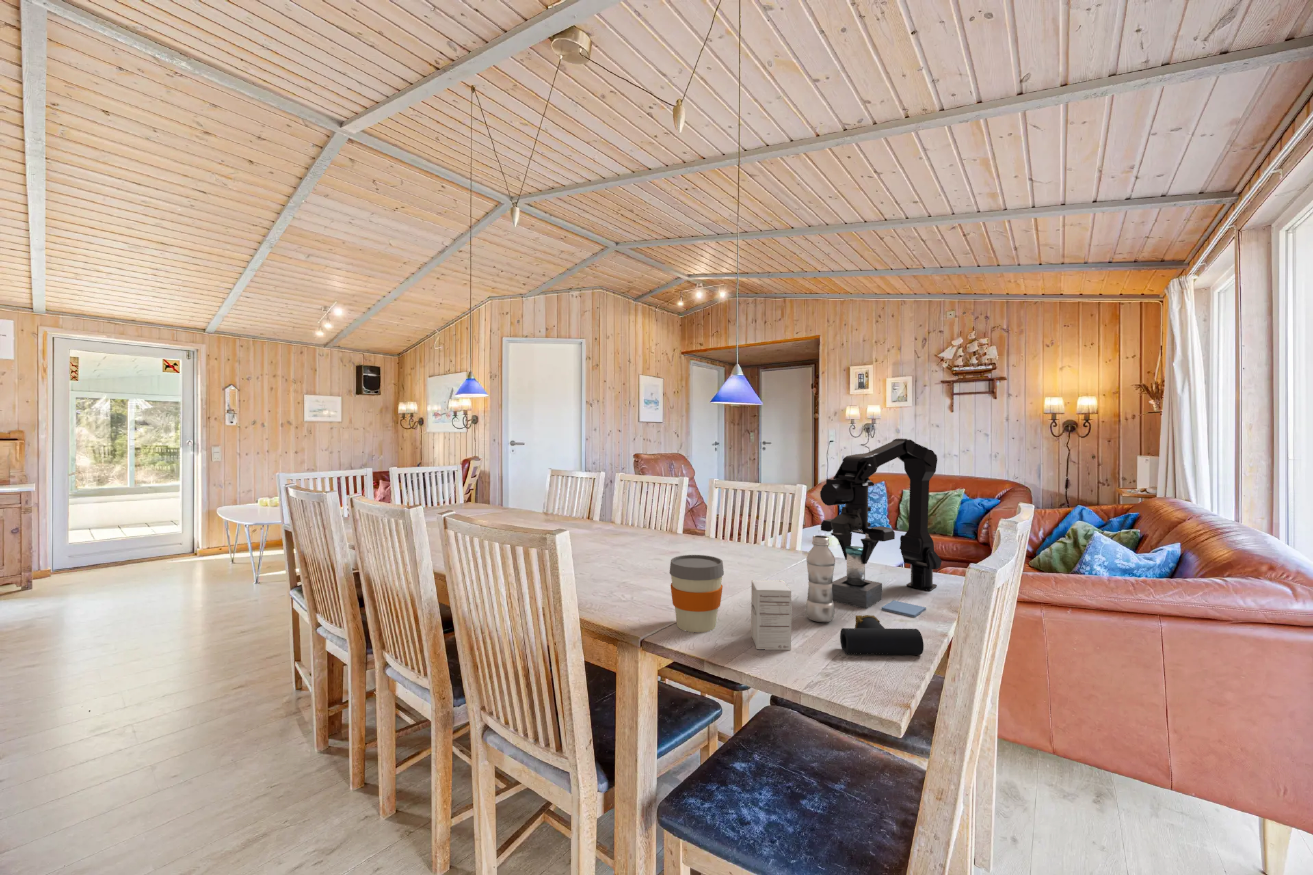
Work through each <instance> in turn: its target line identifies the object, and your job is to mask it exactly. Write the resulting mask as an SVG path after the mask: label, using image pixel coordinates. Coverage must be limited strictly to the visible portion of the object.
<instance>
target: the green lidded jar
mask: <svg viewBox="0 0 1313 875" xmlns="http://www.w3.org/2000/svg"><path fill="white" fill-rule="evenodd" d="M846 553H847V560H846V576H847V583H849V584H853V585H864V584H865V580H866V564H863V546H857V545H851V546H847V547H846Z"/></svg>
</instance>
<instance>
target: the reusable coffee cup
mask: <svg viewBox="0 0 1313 875" xmlns="http://www.w3.org/2000/svg"><path fill="white" fill-rule="evenodd" d="M724 572H725V571H724V563H723V560H722V559H721V558H719V557H716V556H710V555H704V554H685V555H684V554H683V555H678V556H675V557H673V558H671V559H670V565H669V574H670V578H671V583H670V592H671V602H672V605H673V606H674V609H675V610H674V611H675V619H676V627H677V628H678V629H680V630H681V631H684V630H686V631H685V632H687V631H688V633H694V632H701V633H707V632H710V630H711V631H713V630H715V629H716V626H717V617H718V611H719V608H720V607H721V601H722V594H723V588H724V586H723V584H722V581H723V576H724V574H725V573H724Z"/></svg>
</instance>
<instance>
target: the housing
mask: <svg viewBox="0 0 1313 875" xmlns="http://www.w3.org/2000/svg"><path fill="white" fill-rule="evenodd" d="M832 596H833V602H836V603H841V604H845V605H849V606H853V607H856V608H861V609H865V610H867V609H869V608H871V607H872V606H875V605H876V604H878V603H879V602H881V601H882V600H883V582H879V581H873V580H868V579H865V584H864V585H853V584H849V583H847V575H845V576H842V577H840V578H838V579H836V580H833V581H832Z"/></svg>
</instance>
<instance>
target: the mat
mask: <svg viewBox="0 0 1313 875" xmlns="http://www.w3.org/2000/svg"><path fill="white" fill-rule="evenodd" d="M926 610H927V607H925V606H922V605H918V604H913V603H908V602H904V601H899V600H892V601H890V602H888V603H886V604H884V605H883V606H882V607H881V611H883V612H884V611H885V612H889V613H893V614H894V613H895V614H897V615H902V616H905V617H910V618H914V619H915V618H917V617H918V616H919V615H921V614H922V613H923V612H925V611H926Z"/></svg>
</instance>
